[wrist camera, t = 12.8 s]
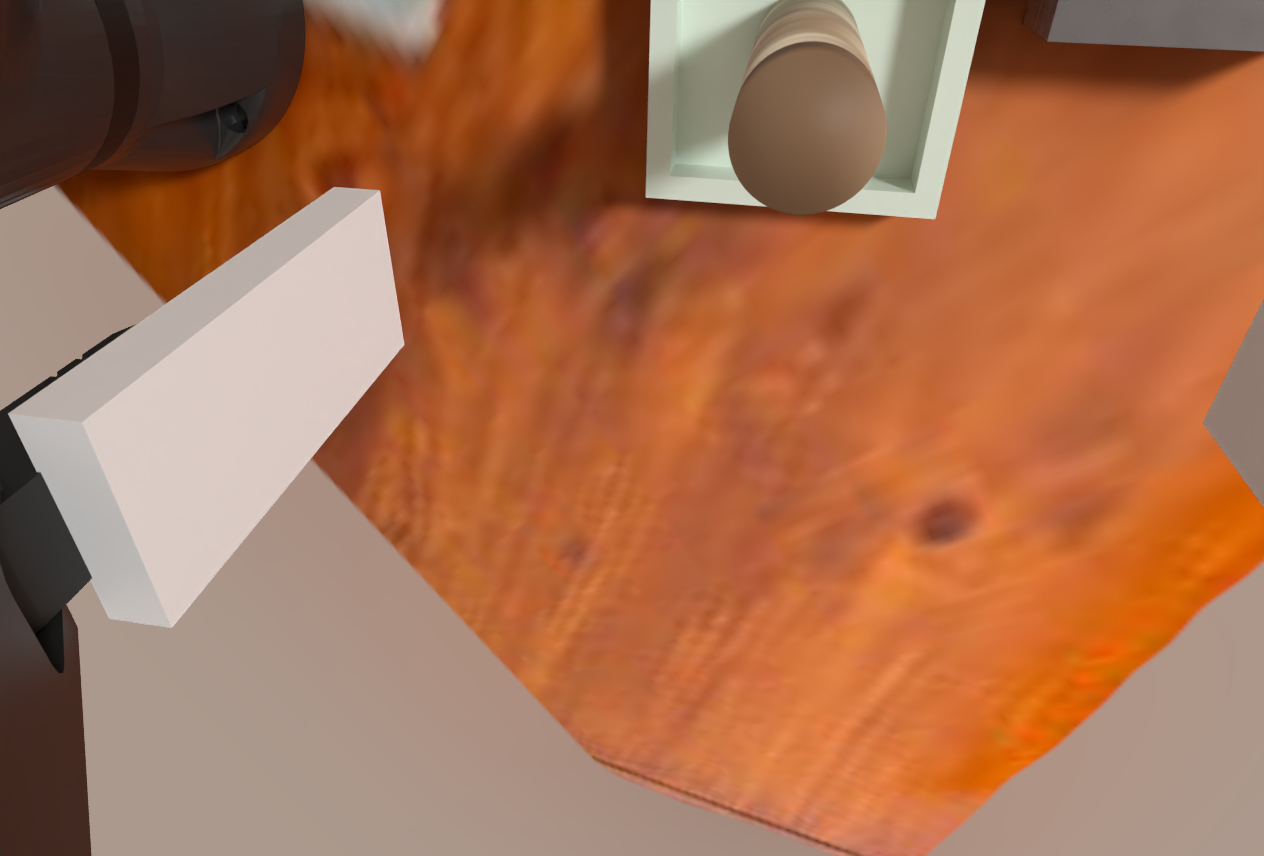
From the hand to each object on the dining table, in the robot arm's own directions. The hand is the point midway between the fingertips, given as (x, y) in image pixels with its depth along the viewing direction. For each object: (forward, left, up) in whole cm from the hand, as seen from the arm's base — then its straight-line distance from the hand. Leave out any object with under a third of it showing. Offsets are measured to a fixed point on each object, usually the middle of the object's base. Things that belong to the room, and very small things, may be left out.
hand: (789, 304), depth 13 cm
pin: (0, 0, -24) cm, 24 cm away
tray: (0, 0, -25) cm, 25 cm away
